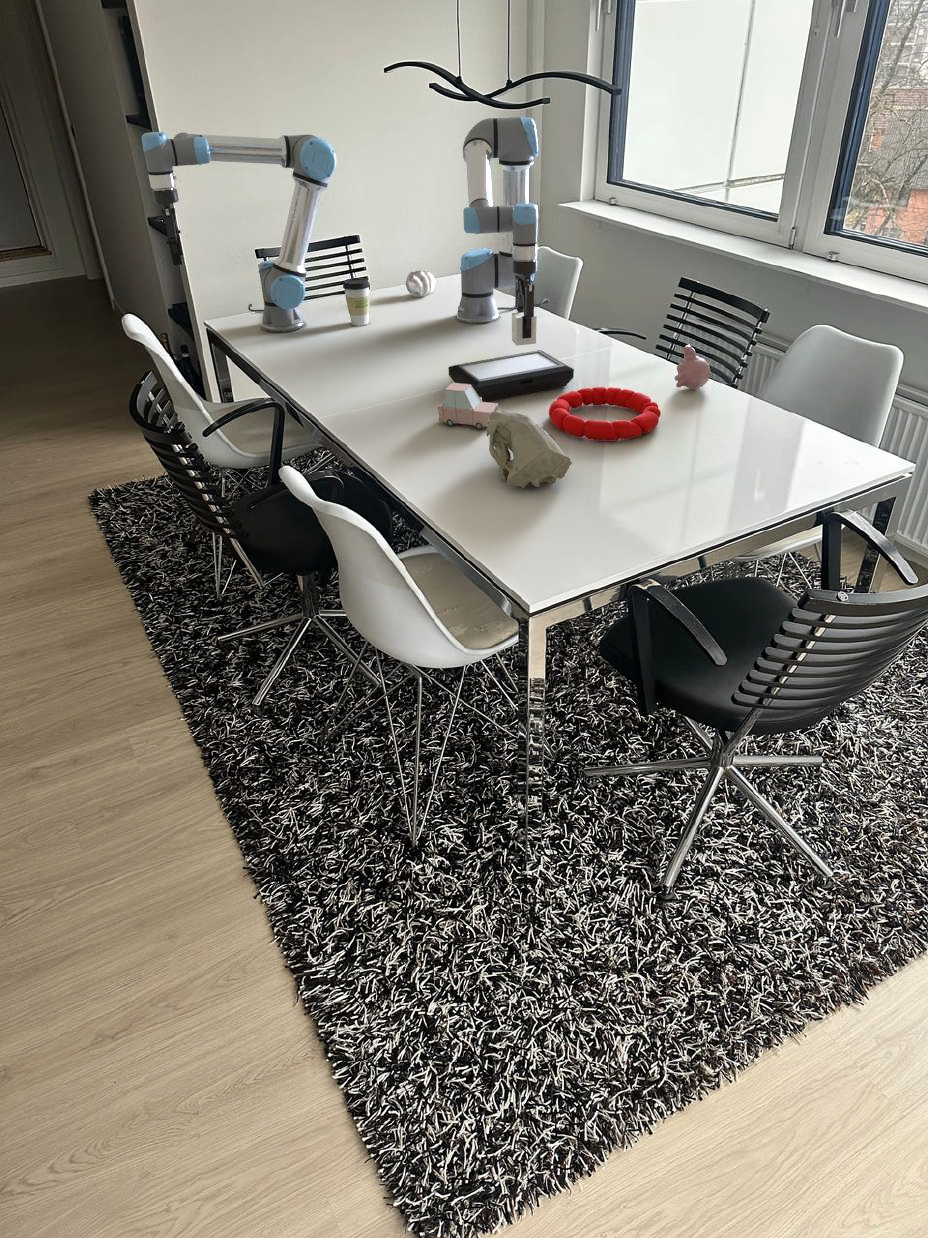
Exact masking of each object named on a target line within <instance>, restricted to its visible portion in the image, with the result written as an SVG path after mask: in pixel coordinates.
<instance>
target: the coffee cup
mask: <svg viewBox="0 0 928 1238" xmlns="http://www.w3.org/2000/svg"><path fill="white" fill-rule="evenodd" d="M370 287H371V283H370V282H369V279H367V278H365V277H351V278H347V279H345V280H344V281H343V285H342V288H343V290H344V297H345V301H346V305H347V310H348V314H349V318H350V323H351V325H353V326H357V327H359V326H365V325H368V324H369V317H370V316H369V313H370Z"/></svg>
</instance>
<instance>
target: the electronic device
mask: <svg viewBox="0 0 928 1238" xmlns="http://www.w3.org/2000/svg"><path fill="white" fill-rule="evenodd" d="M574 374H575V369H574V368H573V367H571V366H569V365H568V364H566V363H564V362H563V361H561V360H559V359H557V358H556V357H554V356H552V355H551V354H549V353H547V352H545V350H544V351H543V350H541V349H539V350H532V351H528V352H521V353H515V354H510V355H505V356H499V357H493V358H487V359H482V360H476V361H470V362H465V363H457V364H454V365H451V366H448V376H449V378H450V379H451V380H452V381H453V383H460V384H470V385H471V386H472V387H473V389H474V390H475V391H476V393H477V394H478V396H479V397H482V402H488V401H489V402H490V401H493V400H494V401H495V400H498V399H504V398H509V397H515V396H520V395H526V394H530V393H536V392H541V391H546V390H552V389H557V388H561V387H563V388H564V387H566V386H568V384H569V383H570V382H571V381H572V380H573V379H574V377H575V376H574Z"/></svg>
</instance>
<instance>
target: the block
mask: <svg viewBox="0 0 928 1238" xmlns="http://www.w3.org/2000/svg"><path fill="white" fill-rule="evenodd" d="M522 316H524V312H520V313H517V312H512V313H511V341H512V342H513V343H514V345H515V346H527V345H536V344H537V315H536V314H535V313H534V317H532V323H531V338H524V339H523V338H522V337H523V318H522Z"/></svg>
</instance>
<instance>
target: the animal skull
mask: <svg viewBox="0 0 928 1238" xmlns="http://www.w3.org/2000/svg"><path fill="white" fill-rule="evenodd" d="M485 436H486V438H487V437H489V438H488V440H489V444H488V445H489V446H488V450H489V454H490V456H491V457H492V458H493V459H494V460H495V462H496V464H497V466H499V468H500V470H501V471H502V472H501V478H502V479H507V480H506V484H507V486H517V487H518V486H519V488H523V489H524V488H526V486H527V485H529V483H531V485H533V486H534V487H536V488H540V485H541V484H542V482H544V483H549V484H550V485H553V484H555V483H556V482H557V480H561V479H563V478H565V476H566V474H567V472H568V471H569V469H570V467H571V466H572V464H573V462H572V461H571V458H570V457H568V456H567V455H565V453H564V451H562V449H561V448H560V446H559V444H557V443H556V439H555V438H554V436H553V435H551V434H550V433H548V432H547V431H546V430H545V429H544V428H542V427H541V426H539V425H538V424H537V423H536V424H535V422H534V421H533V419H532V418H531V417H530V416H529V415H527V414H524V413H519V412H515V411H509V410H507V409H502V410H500V411H499V410H497V411H496V412H492V413H491V414H490V422H488V423H487V427H486V435H485ZM511 453H512V454H511ZM511 455H512V457H513V458H512V460H511ZM507 474H508V475H507Z"/></svg>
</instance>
